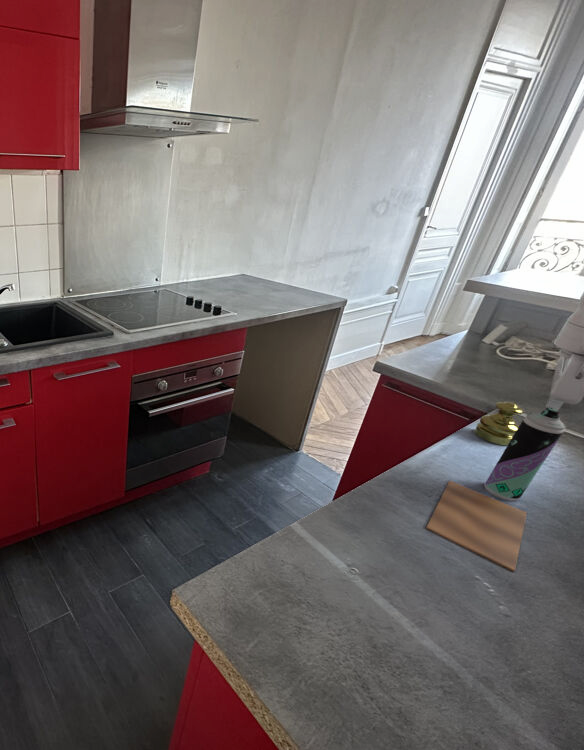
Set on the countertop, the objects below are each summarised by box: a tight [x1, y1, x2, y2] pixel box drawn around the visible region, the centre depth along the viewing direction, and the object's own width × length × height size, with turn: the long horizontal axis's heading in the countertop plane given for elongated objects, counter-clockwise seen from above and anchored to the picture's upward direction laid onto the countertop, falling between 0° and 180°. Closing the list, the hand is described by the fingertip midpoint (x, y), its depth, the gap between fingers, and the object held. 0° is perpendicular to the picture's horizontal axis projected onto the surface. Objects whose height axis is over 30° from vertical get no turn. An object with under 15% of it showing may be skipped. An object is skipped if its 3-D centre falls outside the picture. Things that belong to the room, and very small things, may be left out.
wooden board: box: [425, 480, 528, 573], centre depth 78 cm, size 20×12×1 cm, turn 131°
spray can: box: [483, 407, 567, 502], centre depth 81 cm, size 6×6×20 cm
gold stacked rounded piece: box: [473, 401, 525, 446], centre depth 101 cm, size 7×7×10 cm
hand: (551, 407), depth 81 cm, fingers closed
